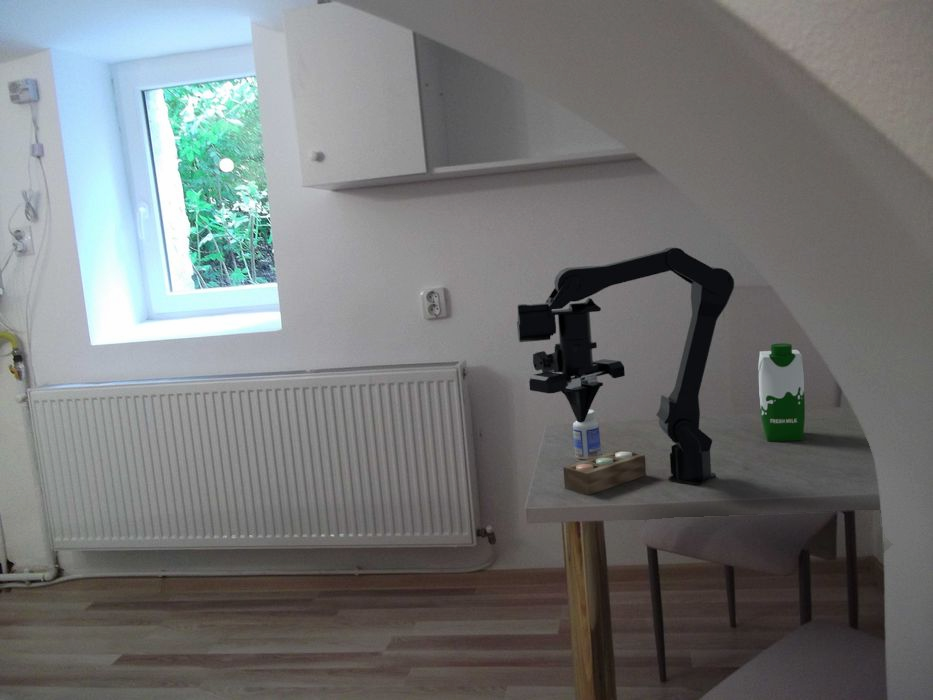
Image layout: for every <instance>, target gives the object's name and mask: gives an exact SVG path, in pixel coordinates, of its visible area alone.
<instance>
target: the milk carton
mask: <svg viewBox="0 0 933 700" xmlns="http://www.w3.org/2000/svg"><path fill="white" fill-rule="evenodd" d="M757 364H758V367H757V369H758V390H759V391H758V392H759V394H758V395H759V412H760V414H759V415H760V417H761V424H762V429H763V433H764V435H765V438H766V440H767V442H786V441H787V442H789V441H795V442H796V441H804V431H805V419H806V418H805V417H806V413H805V412H806V411H805V409H806V406H805V376H804V359H803V355H802V354H801V352H800V350H797V349H793V347H792V344H791V343H784V342H783V343H773V344H771V345H770V350H763V351H761V350H759V358H758V363H757Z"/></svg>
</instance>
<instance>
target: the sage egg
mask: <svg viewBox="0 0 933 700" xmlns="http://www.w3.org/2000/svg"><path fill="white" fill-rule="evenodd" d="M596 463H598V464H601V465H607V464H610V463H613V459H612V458H599V459H596Z"/></svg>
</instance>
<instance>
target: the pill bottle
mask: <svg viewBox="0 0 933 700" xmlns="http://www.w3.org/2000/svg"><path fill="white" fill-rule="evenodd" d="M574 418H575V419H576V417H574ZM595 418H596V414H595V410H593V409H591V408H590V409H589V411H588V414H587V416H586V419H585V421H584V422H578V421H577V420H576V421H574V422H573V424H572V432H573V444H574V445H573V446H574V455H575V458H576V459H579V460H583V461H585V460H588V459H591V458H594V457H598V456H601V455H602V448H601V436H600V423H599V421H598V420H596V419H595Z"/></svg>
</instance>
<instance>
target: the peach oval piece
mask: <svg viewBox="0 0 933 700" xmlns="http://www.w3.org/2000/svg"><path fill="white" fill-rule="evenodd" d="M591 469H593V465H591V464H580V465H577V466H576V470H579V471H583V472H585V471H588V470H591Z"/></svg>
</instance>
